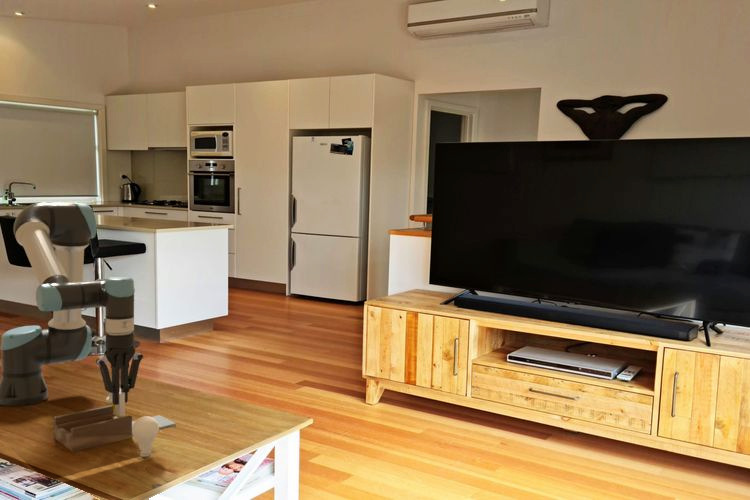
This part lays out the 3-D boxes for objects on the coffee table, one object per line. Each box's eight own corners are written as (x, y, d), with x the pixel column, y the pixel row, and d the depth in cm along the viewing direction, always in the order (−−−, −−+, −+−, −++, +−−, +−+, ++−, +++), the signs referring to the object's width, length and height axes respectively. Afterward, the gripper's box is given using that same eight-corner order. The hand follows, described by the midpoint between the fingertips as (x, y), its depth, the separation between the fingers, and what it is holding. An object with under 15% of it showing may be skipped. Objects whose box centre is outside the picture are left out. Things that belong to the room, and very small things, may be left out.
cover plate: (114, 432, 197) (114, 425, 196) (159, 421, 206) (159, 415, 206) (129, 441, 190) (129, 434, 189) (175, 429, 199) (175, 423, 199)
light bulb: (135, 453, 180) (135, 412, 179) (161, 453, 181) (161, 412, 180) (128, 463, 173) (128, 421, 173) (155, 462, 174) (155, 421, 173)
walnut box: (54, 441, 186) (54, 416, 186) (111, 428, 198) (111, 405, 197) (73, 455, 177) (72, 429, 177) (132, 441, 188) (131, 416, 188)
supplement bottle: (118, 425, 200) (118, 392, 200) (101, 423, 201) (101, 391, 201) (128, 419, 206) (128, 387, 205) (112, 417, 207) (112, 386, 206)
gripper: (102, 337, 183) (103, 423, 185) (148, 331, 192) (148, 413, 194) (90, 333, 188) (91, 416, 190) (135, 327, 198) (135, 406, 200)
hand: (120, 414), depth 192 cm, fingers closed
